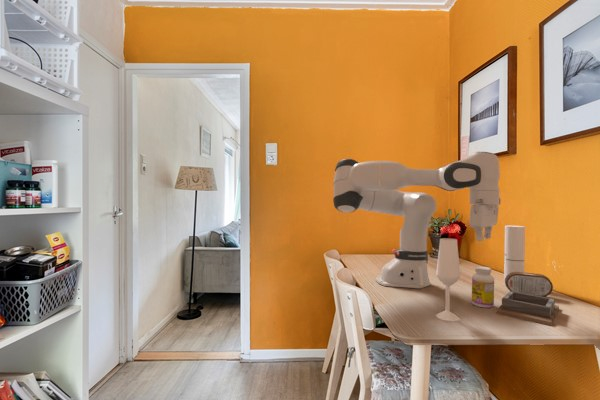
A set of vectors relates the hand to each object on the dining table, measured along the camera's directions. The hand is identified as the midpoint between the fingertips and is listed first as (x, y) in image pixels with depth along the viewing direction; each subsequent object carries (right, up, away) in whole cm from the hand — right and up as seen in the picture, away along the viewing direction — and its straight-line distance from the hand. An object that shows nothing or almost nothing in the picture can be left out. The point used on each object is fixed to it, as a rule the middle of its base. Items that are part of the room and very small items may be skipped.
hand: (483, 239), depth 110 cm
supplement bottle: (0, -23, 0) cm, 23 cm away
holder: (+12, -23, -5) cm, 26 cm away
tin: (+24, -23, +12) cm, 36 cm away
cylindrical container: (+29, -23, +27) cm, 46 cm away
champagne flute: (-18, -23, -11) cm, 31 cm away
